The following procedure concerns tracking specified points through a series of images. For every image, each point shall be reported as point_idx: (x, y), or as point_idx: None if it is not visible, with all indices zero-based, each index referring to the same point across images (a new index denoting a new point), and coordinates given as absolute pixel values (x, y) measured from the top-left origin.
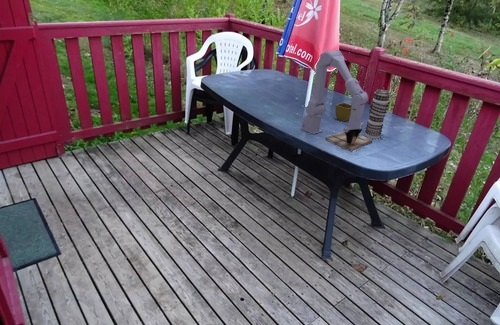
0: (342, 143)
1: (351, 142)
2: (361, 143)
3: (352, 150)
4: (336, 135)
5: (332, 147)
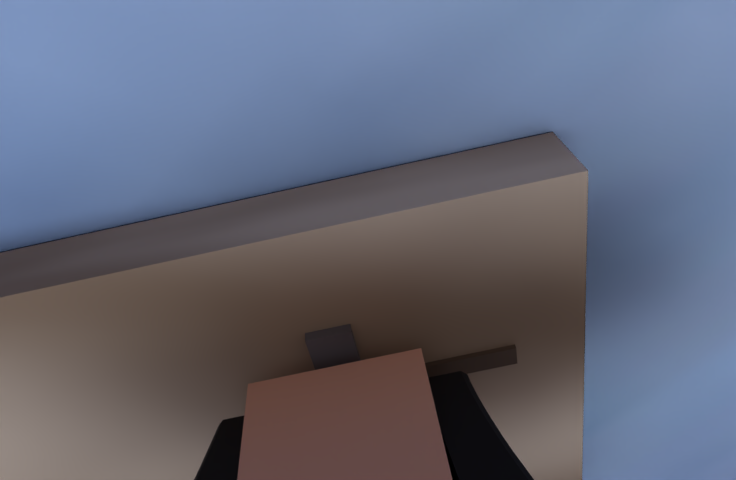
0: (533, 443)
1: (431, 399)
2: (6, 331)
3: (496, 146)
4: None
5: (727, 395)
